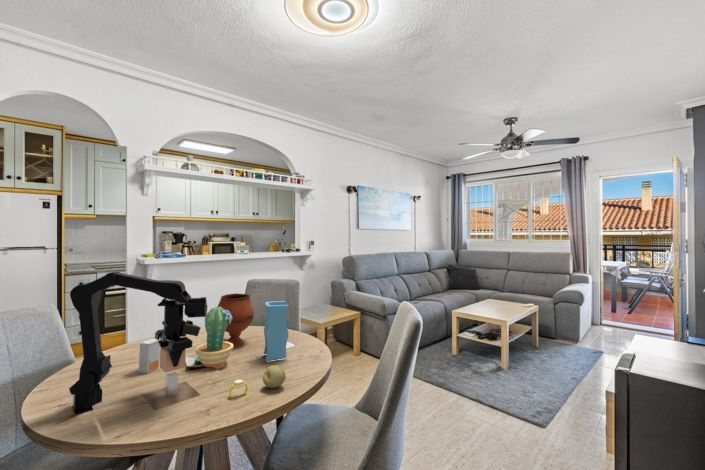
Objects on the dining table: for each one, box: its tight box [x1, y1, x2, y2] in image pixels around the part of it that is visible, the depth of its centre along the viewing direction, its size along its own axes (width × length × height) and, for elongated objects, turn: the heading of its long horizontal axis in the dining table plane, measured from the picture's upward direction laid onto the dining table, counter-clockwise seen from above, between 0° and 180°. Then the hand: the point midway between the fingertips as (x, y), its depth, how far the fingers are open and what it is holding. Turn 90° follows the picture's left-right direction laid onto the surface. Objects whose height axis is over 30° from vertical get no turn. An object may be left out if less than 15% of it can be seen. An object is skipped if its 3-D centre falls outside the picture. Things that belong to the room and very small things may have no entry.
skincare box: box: [138, 338, 161, 375], centre depth 130 cm, size 6×4×12 cm
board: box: [141, 381, 201, 411], centre depth 108 cm, size 14×14×1 cm
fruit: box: [262, 365, 287, 389], centre depth 117 cm, size 8×8×8 cm
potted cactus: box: [195, 306, 234, 370], centre depth 136 cm, size 15×15×25 cm
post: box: [164, 371, 179, 398], centre depth 108 cm, size 3×3×7 cm
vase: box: [263, 300, 290, 361], centre depth 147 cm, size 10×10×25 cm
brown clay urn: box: [216, 292, 255, 348], centre depth 164 cm, size 19×19×25 cm
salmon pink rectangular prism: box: [159, 346, 186, 374], centre depth 109 cm, size 6×6×7 cm
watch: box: [228, 379, 249, 399], centre depth 109 cm, size 6×3×6 cm, turn 124°
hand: (172, 363), depth 108 cm, fingers closed on salmon pink rectangular prism, 6 cm apart
